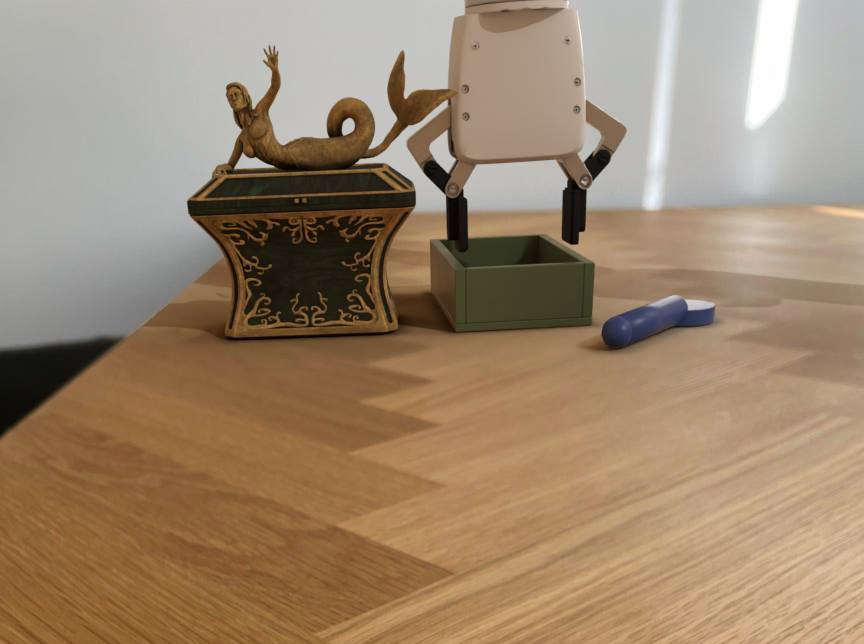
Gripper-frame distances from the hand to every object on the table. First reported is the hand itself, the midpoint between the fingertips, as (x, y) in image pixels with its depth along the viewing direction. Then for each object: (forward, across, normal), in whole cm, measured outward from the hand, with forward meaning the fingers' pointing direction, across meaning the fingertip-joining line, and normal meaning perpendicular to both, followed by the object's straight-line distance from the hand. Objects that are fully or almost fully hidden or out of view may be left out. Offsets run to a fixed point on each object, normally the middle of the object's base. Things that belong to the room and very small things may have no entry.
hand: (515, 245), depth 83 cm
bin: (+5, 0, -3) cm, 6 cm away
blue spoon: (+6, -9, +10) cm, 14 cm away
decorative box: (+5, +15, +1) cm, 16 cm away
